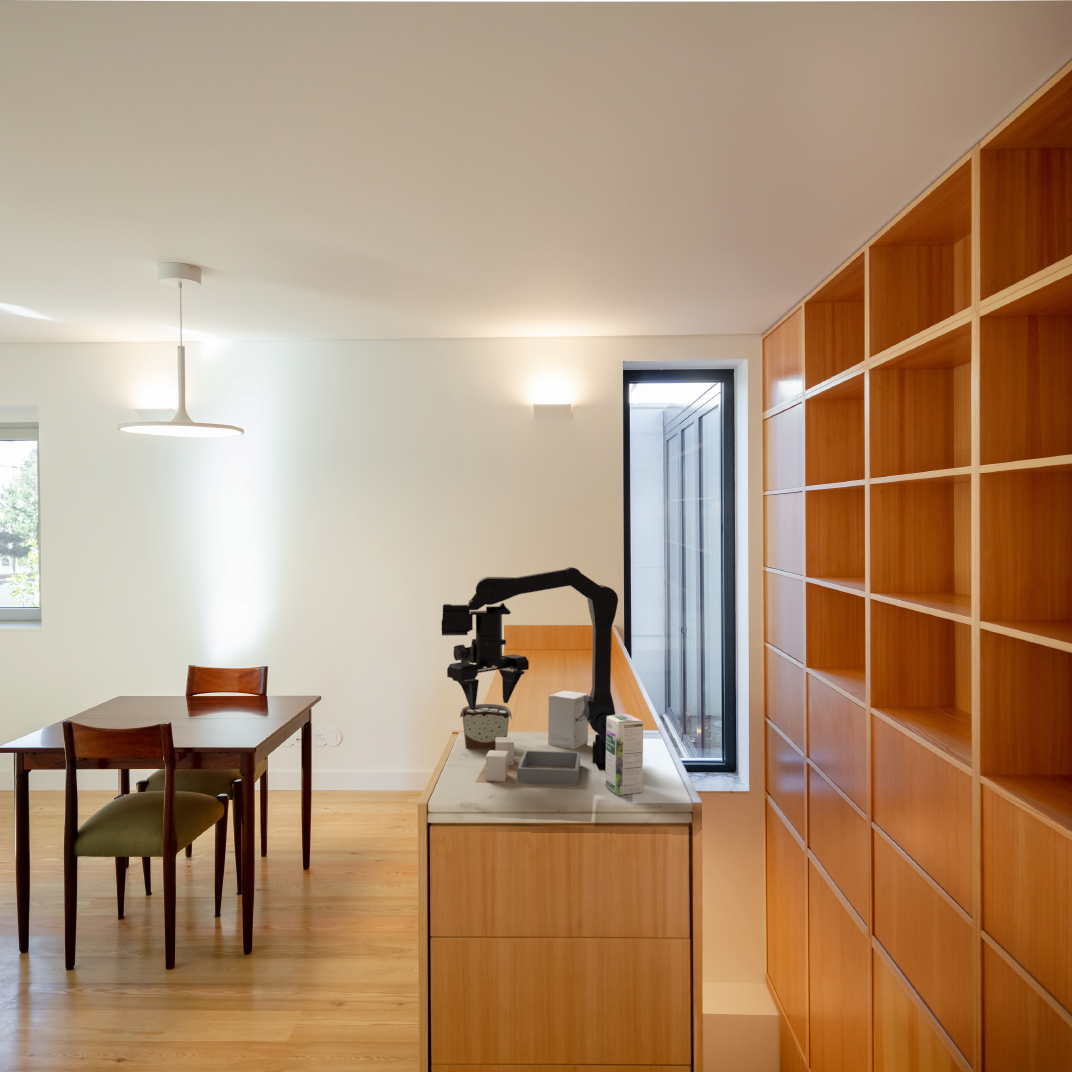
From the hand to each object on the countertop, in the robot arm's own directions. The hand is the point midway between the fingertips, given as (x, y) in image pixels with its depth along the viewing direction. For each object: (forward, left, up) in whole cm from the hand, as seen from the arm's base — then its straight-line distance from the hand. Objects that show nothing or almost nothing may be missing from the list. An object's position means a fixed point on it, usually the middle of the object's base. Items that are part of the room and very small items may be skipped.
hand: (489, 706), depth 156 cm
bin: (-14, +4, -14) cm, 20 cm away
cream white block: (-3, -2, -13) cm, 13 cm away
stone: (-3, +8, -13) cm, 15 cm away
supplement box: (-16, -18, -14) cm, 28 cm away
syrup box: (-29, +10, -14) cm, 34 cm away
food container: (+3, -14, -14) cm, 20 cm away
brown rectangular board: (-3, +3, -14) cm, 14 cm away
